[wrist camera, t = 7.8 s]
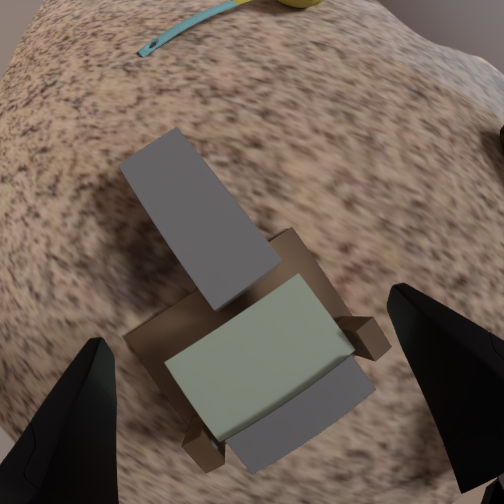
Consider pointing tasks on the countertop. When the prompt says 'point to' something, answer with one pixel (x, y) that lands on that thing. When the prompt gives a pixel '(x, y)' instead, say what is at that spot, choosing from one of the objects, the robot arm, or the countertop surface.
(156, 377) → the trapdoor frame
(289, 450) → the trapdoor
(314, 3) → the ladle
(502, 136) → the potato
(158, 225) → the grey rectangular block
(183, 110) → the countertop surface
